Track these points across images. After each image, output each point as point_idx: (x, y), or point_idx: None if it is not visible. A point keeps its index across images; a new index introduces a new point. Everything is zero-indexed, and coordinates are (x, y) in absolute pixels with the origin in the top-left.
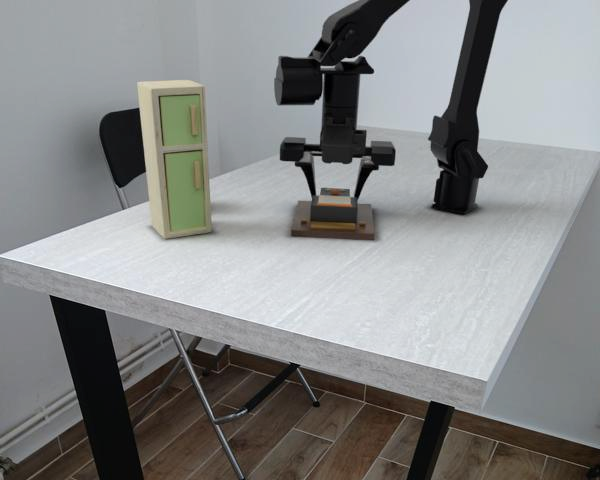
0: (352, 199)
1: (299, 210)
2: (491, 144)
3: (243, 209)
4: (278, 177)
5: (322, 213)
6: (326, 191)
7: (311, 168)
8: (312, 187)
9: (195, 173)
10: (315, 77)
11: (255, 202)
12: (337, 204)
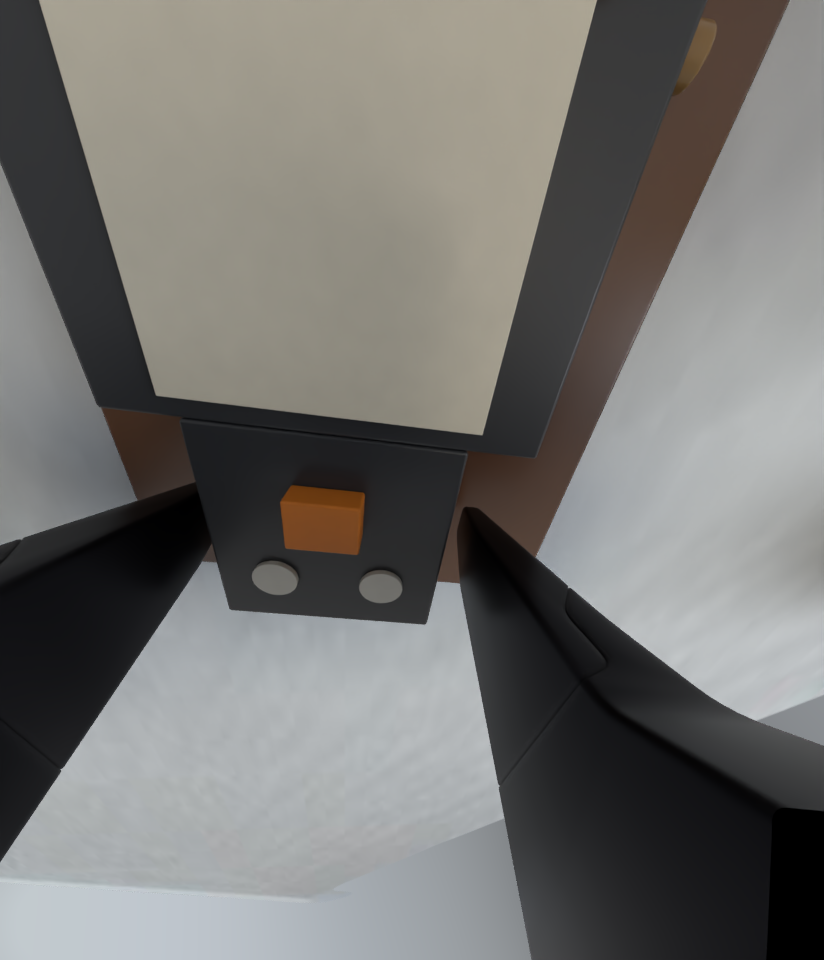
0: (115, 310)
1: (567, 438)
2: (43, 873)
3: (784, 523)
4: None
5: None
6: (397, 557)
7: (766, 793)
8: (522, 569)
9: None
10: None
11: (675, 601)
12: None
